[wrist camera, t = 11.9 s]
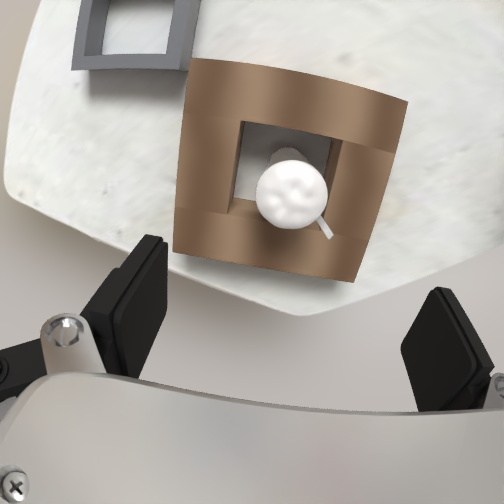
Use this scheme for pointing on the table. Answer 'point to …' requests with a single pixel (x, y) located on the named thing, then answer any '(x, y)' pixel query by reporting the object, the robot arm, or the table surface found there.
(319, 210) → the milkshake
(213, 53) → the table surface
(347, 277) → the socket block
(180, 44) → the grey square frame
